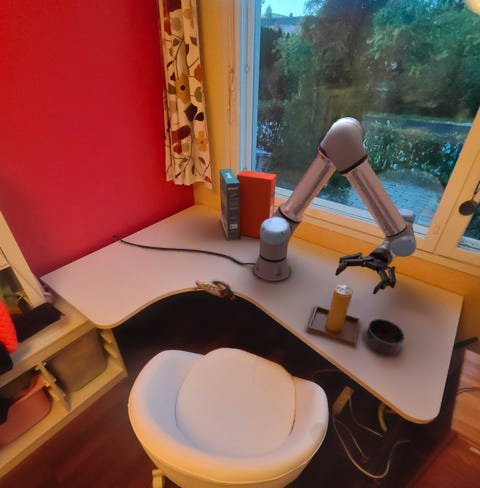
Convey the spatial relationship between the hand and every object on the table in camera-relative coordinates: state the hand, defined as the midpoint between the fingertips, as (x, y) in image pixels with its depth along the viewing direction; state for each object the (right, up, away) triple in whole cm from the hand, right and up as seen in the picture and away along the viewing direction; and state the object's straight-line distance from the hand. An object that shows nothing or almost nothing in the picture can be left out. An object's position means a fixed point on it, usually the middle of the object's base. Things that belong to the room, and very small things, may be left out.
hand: (354, 281), depth 95 cm
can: (-6, -16, +3) cm, 17 cm away
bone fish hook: (-48, -6, +19) cm, 52 cm away
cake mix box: (-44, +23, +62) cm, 79 cm away
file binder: (-31, +21, +58) cm, 69 cm away
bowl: (+8, -20, -2) cm, 21 cm away
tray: (-6, -16, +4) cm, 18 cm away
